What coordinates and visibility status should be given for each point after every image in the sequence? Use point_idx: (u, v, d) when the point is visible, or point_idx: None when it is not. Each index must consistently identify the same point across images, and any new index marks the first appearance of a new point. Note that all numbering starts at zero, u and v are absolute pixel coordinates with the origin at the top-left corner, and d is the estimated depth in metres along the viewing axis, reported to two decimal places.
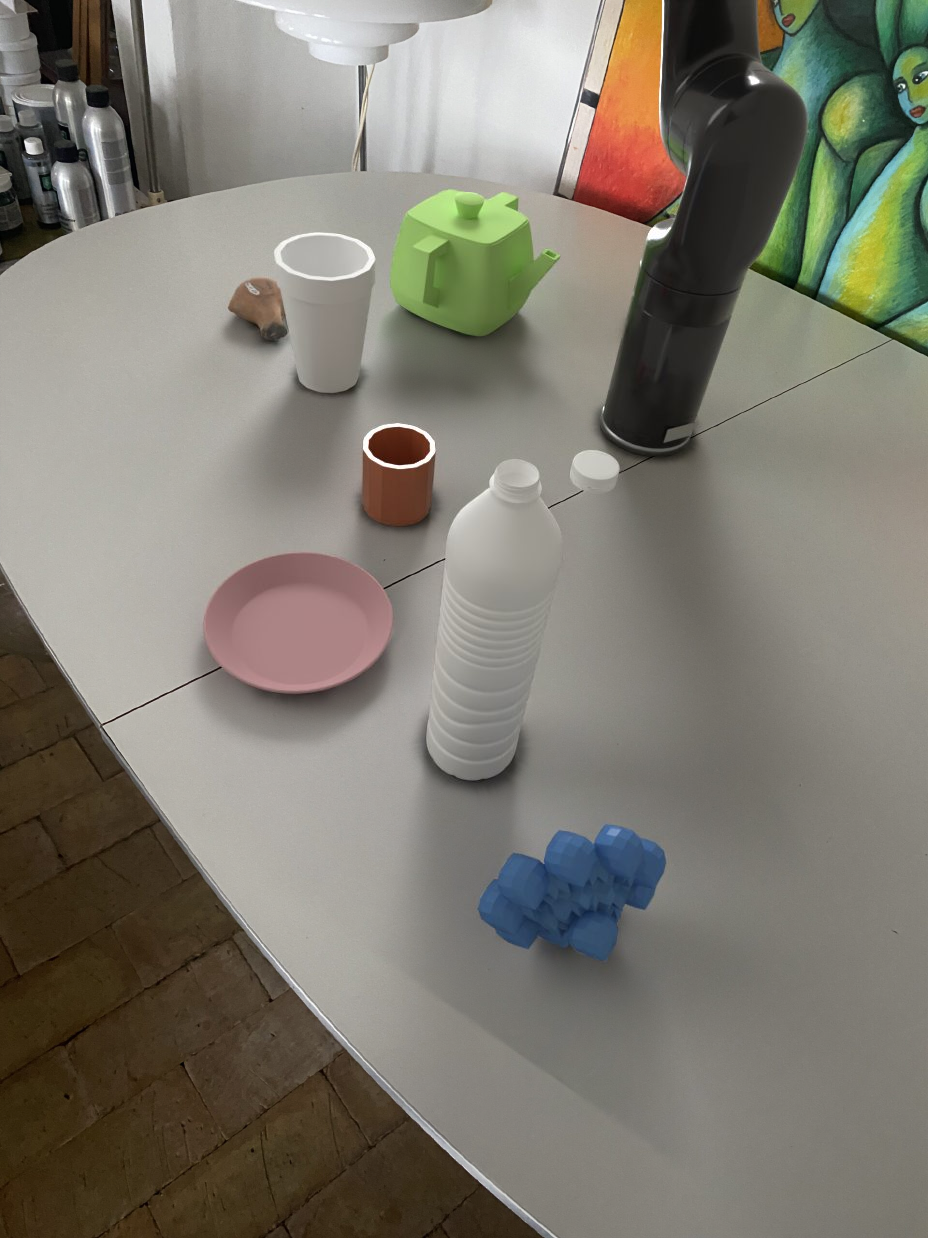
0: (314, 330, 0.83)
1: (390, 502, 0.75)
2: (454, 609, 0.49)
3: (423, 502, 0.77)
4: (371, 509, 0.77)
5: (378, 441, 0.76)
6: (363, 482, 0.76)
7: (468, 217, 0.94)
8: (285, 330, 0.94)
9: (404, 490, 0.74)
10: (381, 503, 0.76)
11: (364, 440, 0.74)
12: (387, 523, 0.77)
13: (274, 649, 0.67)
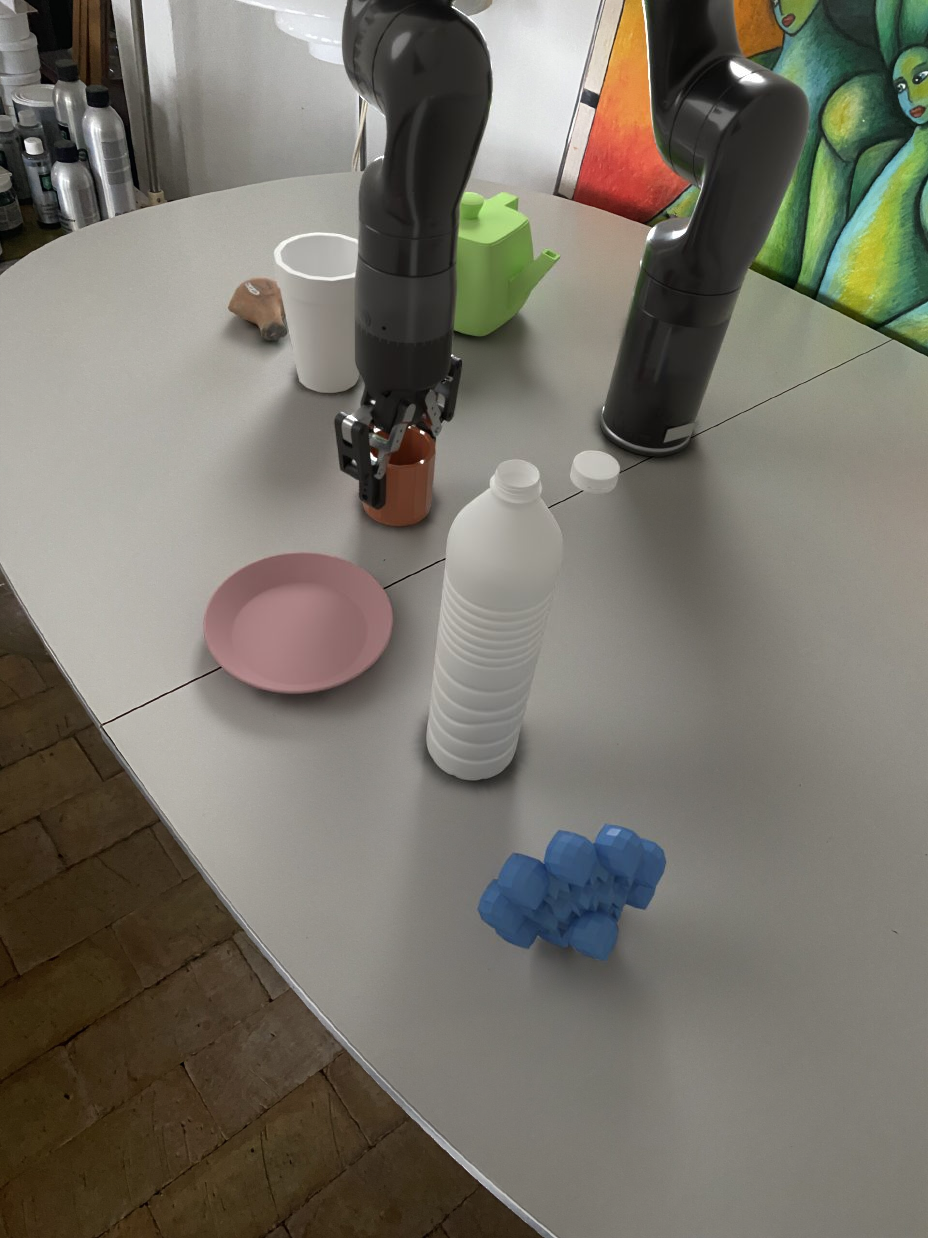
0: (314, 330, 0.83)
1: (390, 502, 0.75)
2: (454, 609, 0.49)
3: (423, 502, 0.77)
4: (371, 509, 0.77)
5: None
6: None
7: (468, 217, 0.94)
8: (285, 330, 0.94)
9: (404, 490, 0.74)
10: None
11: None
12: (387, 523, 0.77)
13: (274, 649, 0.67)
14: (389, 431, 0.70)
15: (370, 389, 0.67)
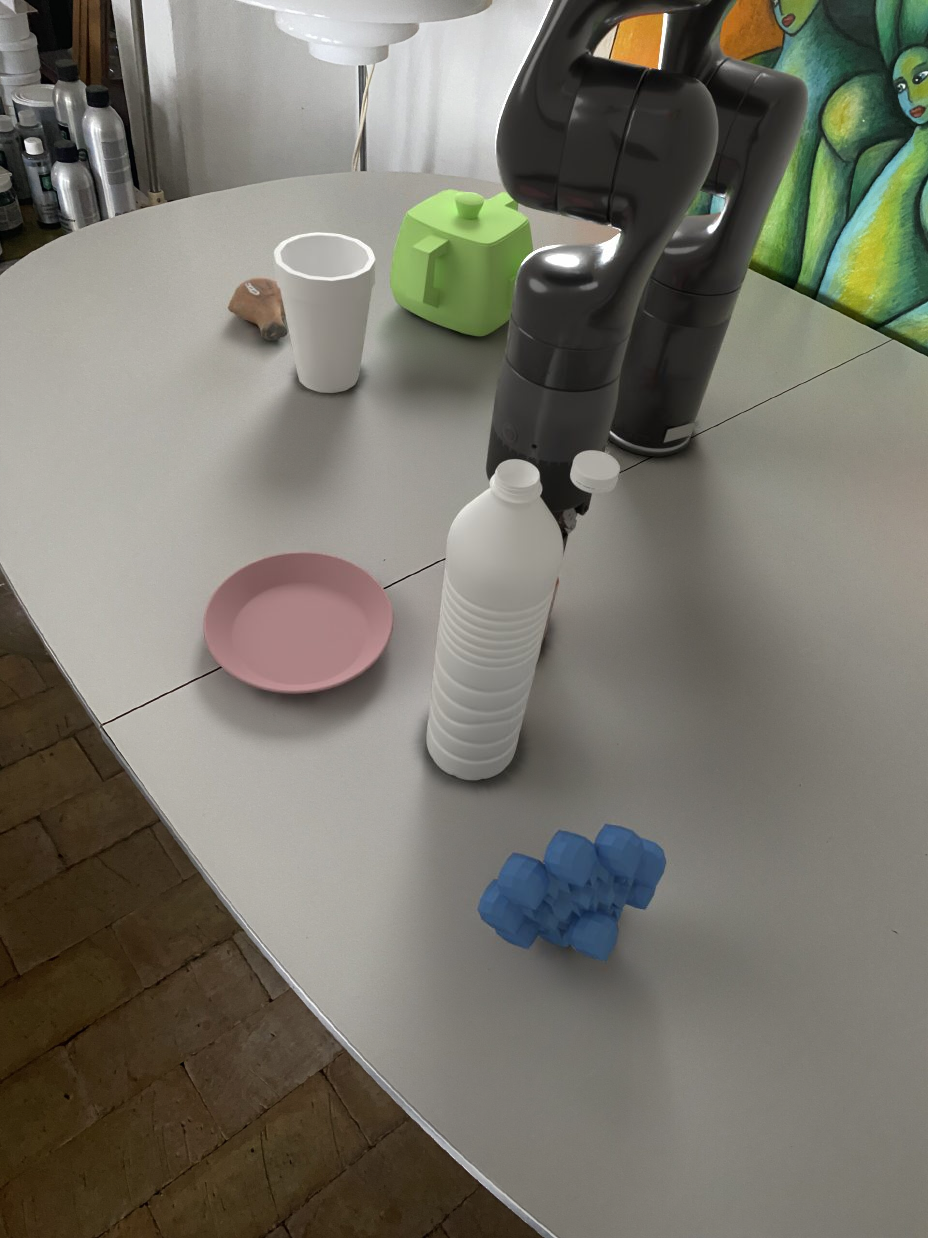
0: (314, 330, 0.83)
1: None
2: (454, 609, 0.49)
3: None
4: None
5: None
6: None
7: (468, 217, 0.94)
8: (285, 330, 0.94)
9: None
10: None
11: None
12: None
13: (274, 649, 0.67)
14: None
15: None
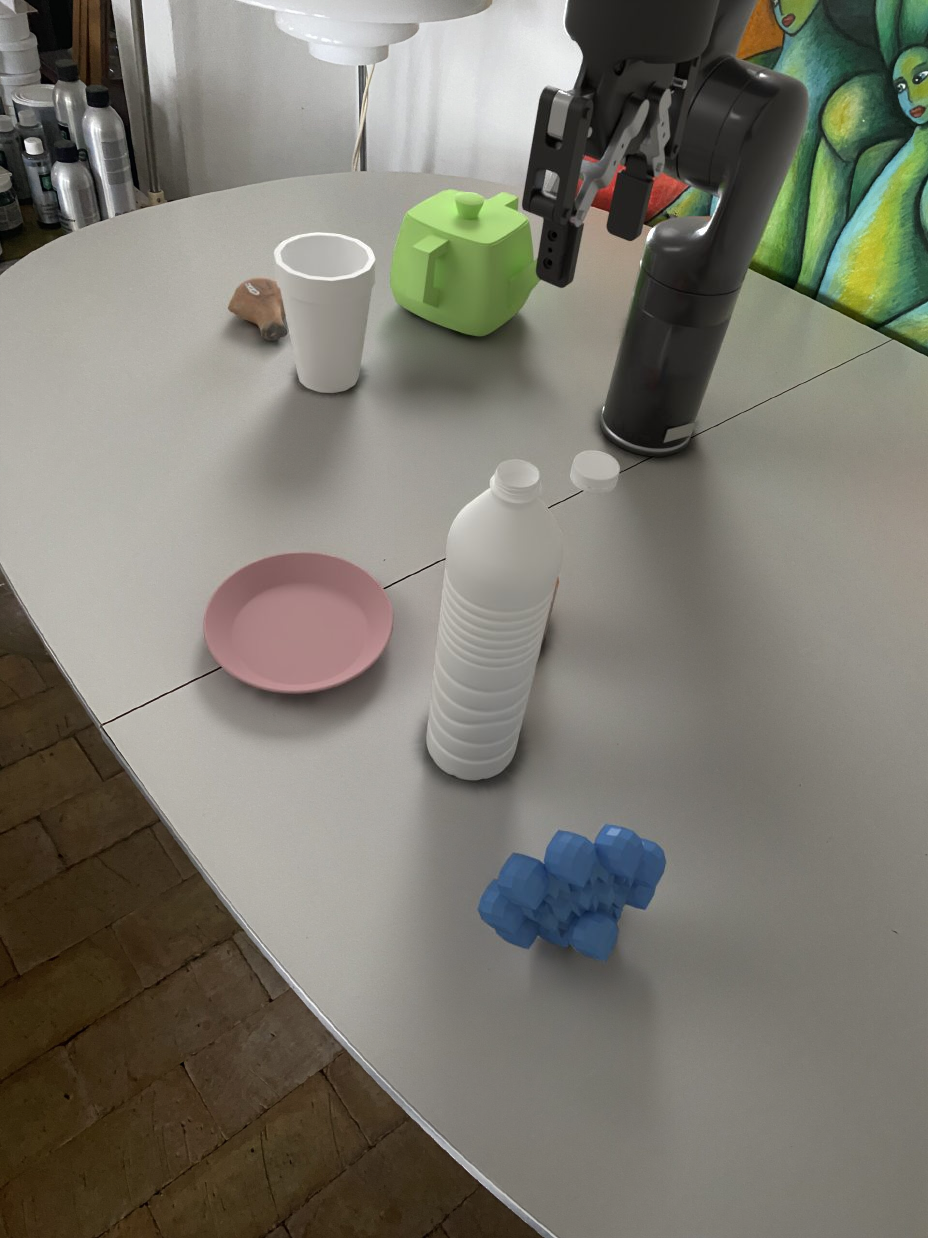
0: (314, 330, 0.83)
1: None
2: (454, 609, 0.49)
3: None
4: None
5: None
6: None
7: (468, 217, 0.94)
8: (285, 330, 0.94)
9: None
10: None
11: None
12: None
13: (274, 649, 0.67)
14: (606, 149, 0.47)
15: (592, 62, 0.43)
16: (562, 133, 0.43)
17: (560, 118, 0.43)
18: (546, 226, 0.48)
